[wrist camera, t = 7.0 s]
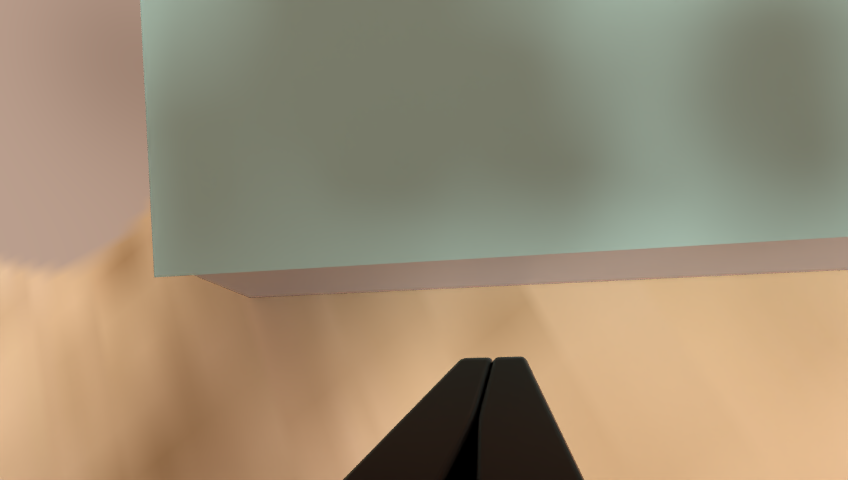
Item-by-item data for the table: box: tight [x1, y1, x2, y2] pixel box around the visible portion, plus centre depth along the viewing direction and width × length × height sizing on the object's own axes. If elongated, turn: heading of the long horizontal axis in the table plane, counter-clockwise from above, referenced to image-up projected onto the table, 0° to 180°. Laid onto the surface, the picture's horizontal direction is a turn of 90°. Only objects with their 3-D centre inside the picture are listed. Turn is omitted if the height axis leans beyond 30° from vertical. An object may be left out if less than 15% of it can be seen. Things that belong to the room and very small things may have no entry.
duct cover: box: [140, 0, 848, 277], centre depth 17 cm, size 9×22×2 cm, turn 90°
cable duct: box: [194, 237, 848, 298], centre depth 19 cm, size 8×22×4 cm, turn 89°
